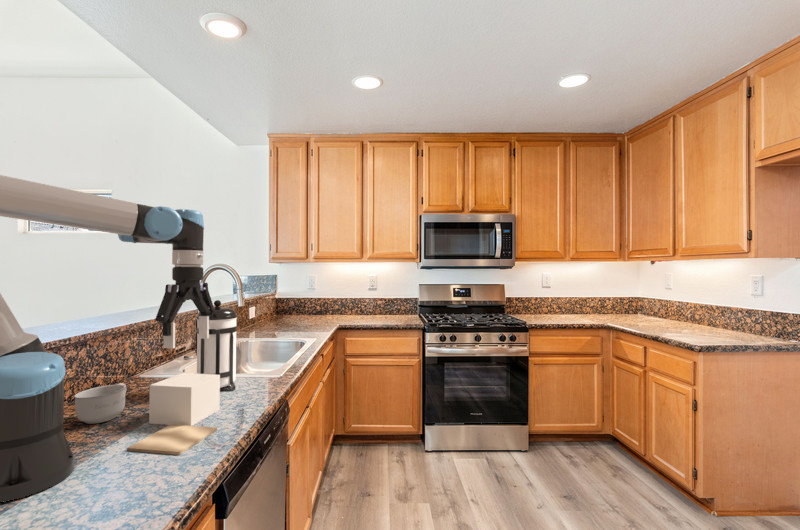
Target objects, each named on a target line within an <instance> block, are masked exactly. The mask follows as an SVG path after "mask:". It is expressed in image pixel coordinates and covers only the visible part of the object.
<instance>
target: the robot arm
mask: <svg viewBox="0 0 800 530" xmlns="http://www.w3.org/2000/svg"><path fill="white" fill-rule="evenodd" d="M0 217H3V218H10V219H15V220H16V219H17V220H22V221H23V220H24V221H32V222H36V223H41V224H42V223H43V224H49V225H56V226H63V227H70V228H77V229H83V230H89V231H97V232H103V233H109V234H115V235H117V237H118V239H119V241H121V242H123V243H133V244H137V243H140V244H166V245H171V246H172V248H171V249H172V250H171V251H172V253H171V254H172V255H171V257H172V258H171V260H172V261H171V264H172V265H174V266H173V267H172V269H171V270H172V271H171V275H172V276H171V277H172V280H173V281H175V283H174V284H166V285H165V290H164V294H163V297H162V299H161V300H162V301H161V303H160V305H159V308H158V311H157V314H156V316H155V319H154V320H155V322H158V323H159V324H162V336H163V348H164V349H175V348H176V322H174V320H175V318H176V317H177V314H178V313H179V311H180V309H181V308H182V305H183V304H184V303H185V302H187V301H192V303H193V305H195V308H196V309H197V310H198V313H199V312H200V314H201V315H202V316H199V338H201V339H208V338H209V316H212V315H213V313H214V312H215V309H214V307H215V305H214V302H213V301H212V297H211V295H210V291H209V284H208V282H200V281H203V279H204V267H203V266H202V265H204V236H205V235H204V230H205V225H204V215H203V213H202V212H201V211H198V210H195V209H186V208H185V209H184V208H182V209H181V208H179V209H178V208H177V209H174V208H171V207H169V206H162V205H161V206H151V205H146V204H142V203H136V202H131V201H126V200H121V199H117V198H112V197H107V196H102V195H98V194H92V193H89V192H83V191H78V190H74V189H68V188H66V187H65V188H64V187H59V186H56V185H55V186H54V185H50V184H45V183H41V182H35V181H31V180H26V179H21V178H18V177H17V178H16V177H12V176H7V175H2V174H0ZM209 308H210V309H209ZM66 371H67V369H66V366H65V360H64V358H63V357H62V356H61V355H60V354H57V353H54V352H48V351H47V349H46V347H45V346H44V344H43V342H42V341H41V339H40V338H39V336H38V335H36V334H33V333H28V332H25V331H24V329H23V328H22V326H21V325H20V323H19V321H18V319H17V318H16V317H15V315H14V313H13V311H12V310H11V308H10V307H9V304H8V303H7V302H6V299H4V297H3V296H2V294H1V293H0V502H3V501H8V500H13V501H15V500H14V499H17V500H20V499H24V498H26V497H25V496H27V497H29V495H30V496H32V495H35V494H37V492H38V493H40V492H43V491H45V490H47V489H50V488H51V486H52V487H53V485H54V486H55V484H56V485H57V484H59V483H61V482H62V481H64V480H66V479H67V478H68V477H69V476H71V475H72V474H73V472H74V470H75V456H74V453H73V452H72V449H71V446H70V443H69V441H68V440H67V437H66V434H65V432H64V405H65V402H64V401H65V399H64V398H65V376H66ZM66 477H67V478H66ZM49 487H50V488H49ZM44 489H45V490H44ZM42 490H43V491H42ZM31 494H32V495H31ZM19 498H20V499H19Z"/></svg>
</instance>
